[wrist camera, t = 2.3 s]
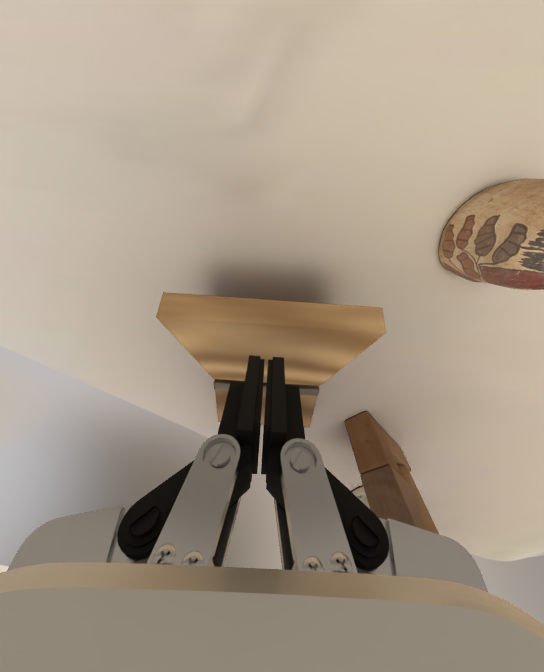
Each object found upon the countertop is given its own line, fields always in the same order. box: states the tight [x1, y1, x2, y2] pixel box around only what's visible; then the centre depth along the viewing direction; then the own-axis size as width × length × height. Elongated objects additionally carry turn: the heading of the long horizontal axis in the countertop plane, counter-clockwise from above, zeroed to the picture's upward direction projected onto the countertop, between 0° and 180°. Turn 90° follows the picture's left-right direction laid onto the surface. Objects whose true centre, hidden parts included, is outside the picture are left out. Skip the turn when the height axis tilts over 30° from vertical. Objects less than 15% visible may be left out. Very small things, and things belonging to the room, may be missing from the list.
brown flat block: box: [214, 379, 319, 427], centre depth 28 cm, size 7×12×2 cm, turn 86°
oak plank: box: [156, 292, 386, 386], centre depth 19 cm, size 15×12×2 cm
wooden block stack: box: [345, 411, 439, 534], centre depth 25 cm, size 4×11×18 cm, turn 40°
